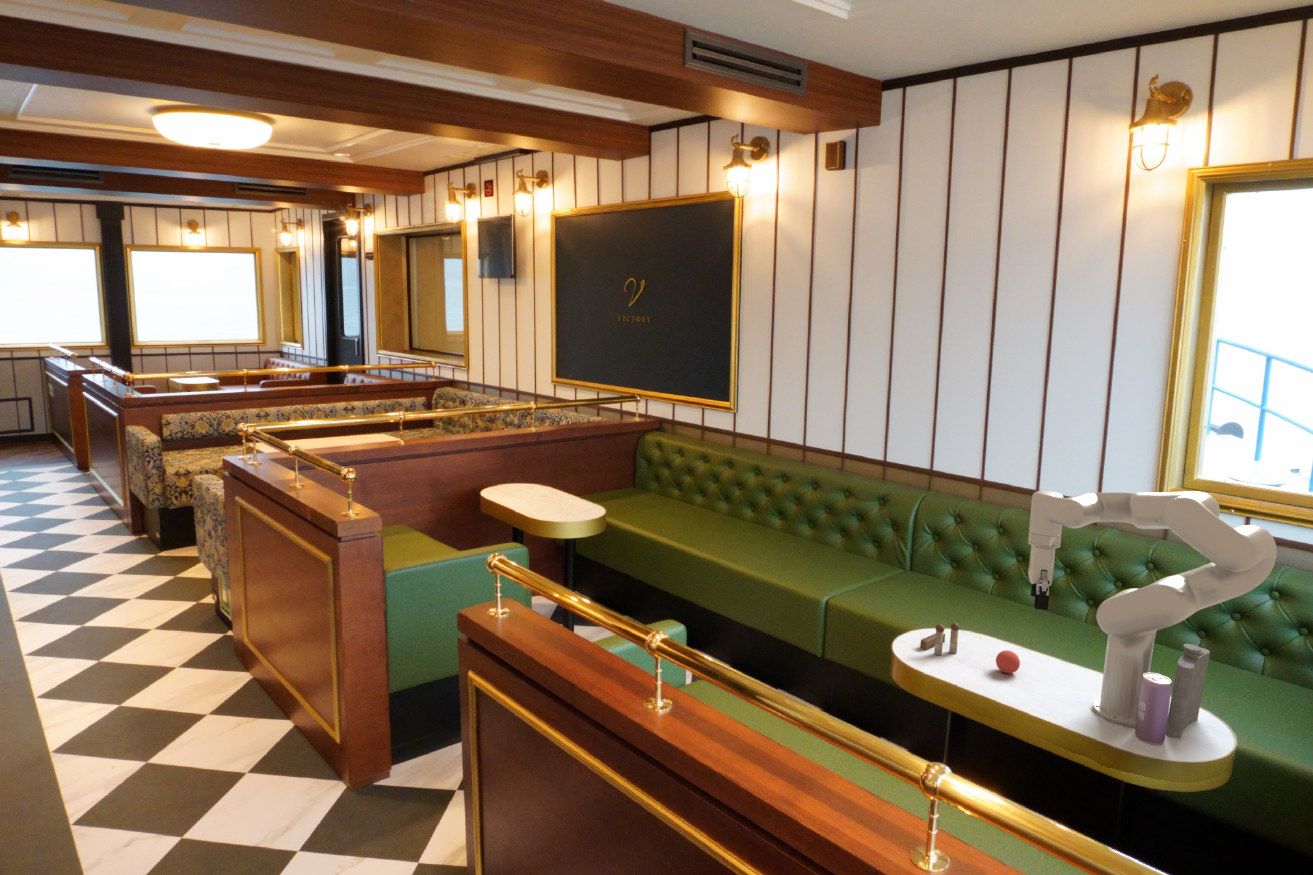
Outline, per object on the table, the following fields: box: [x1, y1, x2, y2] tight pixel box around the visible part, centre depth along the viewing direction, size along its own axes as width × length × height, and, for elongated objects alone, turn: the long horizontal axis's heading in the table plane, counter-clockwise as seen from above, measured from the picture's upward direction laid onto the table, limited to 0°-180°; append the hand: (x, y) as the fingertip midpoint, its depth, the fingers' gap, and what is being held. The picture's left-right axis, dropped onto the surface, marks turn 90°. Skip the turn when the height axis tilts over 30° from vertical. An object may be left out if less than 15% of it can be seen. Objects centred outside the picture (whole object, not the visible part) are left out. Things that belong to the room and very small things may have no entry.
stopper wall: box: [919, 632, 946, 651], centre depth 238 cm, size 2×10×2 cm, turn 130°
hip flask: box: [1165, 643, 1211, 739], centre depth 192 cm, size 16×4×20 cm, turn 132°
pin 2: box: [948, 622, 960, 655], centre depth 232 cm, size 2×2×9 cm
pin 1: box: [933, 623, 945, 657], centre depth 231 cm, size 2×2×9 cm
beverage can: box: [1134, 672, 1173, 746], centre depth 186 cm, size 6×6×15 cm
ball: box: [995, 650, 1021, 674], centre depth 220 cm, size 6×6×6 cm
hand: (1039, 602), depth 212 cm, fingers open, 9 cm apart
